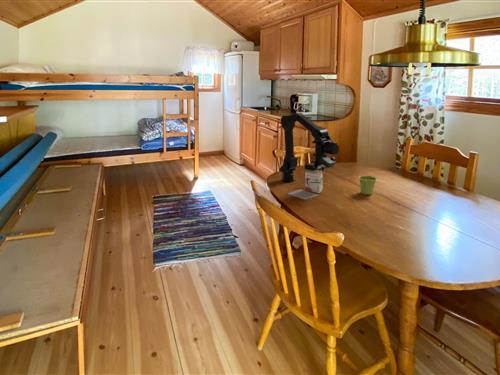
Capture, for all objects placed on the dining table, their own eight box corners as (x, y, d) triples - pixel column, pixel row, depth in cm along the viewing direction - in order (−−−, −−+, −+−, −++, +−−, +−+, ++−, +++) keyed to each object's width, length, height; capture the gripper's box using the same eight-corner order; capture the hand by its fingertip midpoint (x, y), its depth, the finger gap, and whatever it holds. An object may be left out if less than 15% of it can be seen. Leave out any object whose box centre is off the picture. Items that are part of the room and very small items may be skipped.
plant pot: (353, 192, 201) (355, 177, 198) (364, 189, 206) (365, 174, 204) (368, 197, 194) (369, 181, 191) (379, 193, 199) (380, 178, 196)
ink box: (305, 190, 204) (304, 172, 198) (308, 186, 208) (307, 168, 201) (320, 193, 200) (319, 175, 194) (322, 188, 204) (322, 170, 198)
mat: (287, 193, 200) (287, 193, 200) (301, 189, 207) (301, 189, 207) (304, 199, 191) (304, 199, 191) (318, 195, 197) (318, 195, 197)
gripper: (320, 157, 188) (319, 186, 193) (342, 151, 199) (341, 179, 204) (304, 153, 196) (303, 181, 201) (326, 148, 208) (325, 175, 212)
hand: (318, 179), depth 205 cm, fingers closed
